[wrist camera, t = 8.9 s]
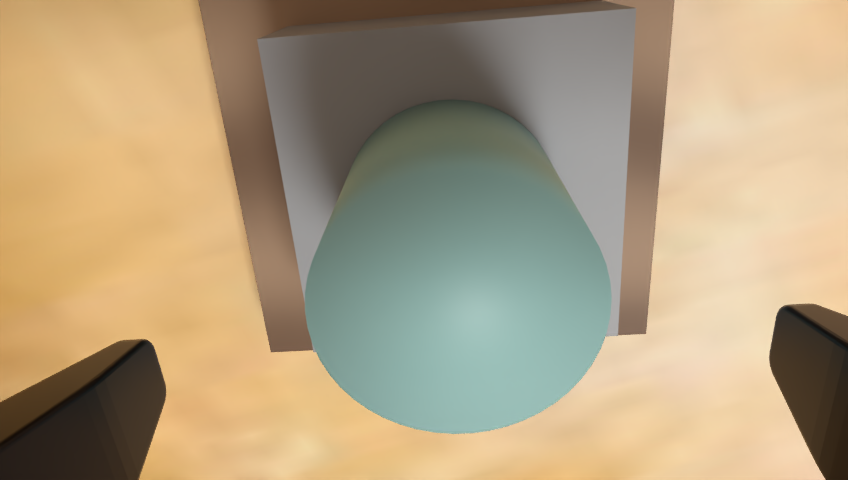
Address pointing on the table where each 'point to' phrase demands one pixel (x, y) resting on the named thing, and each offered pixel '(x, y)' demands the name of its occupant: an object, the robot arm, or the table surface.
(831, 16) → the table surface
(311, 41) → the grey square block
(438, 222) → the teal round block
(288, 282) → the tower base slab
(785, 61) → the table surface
